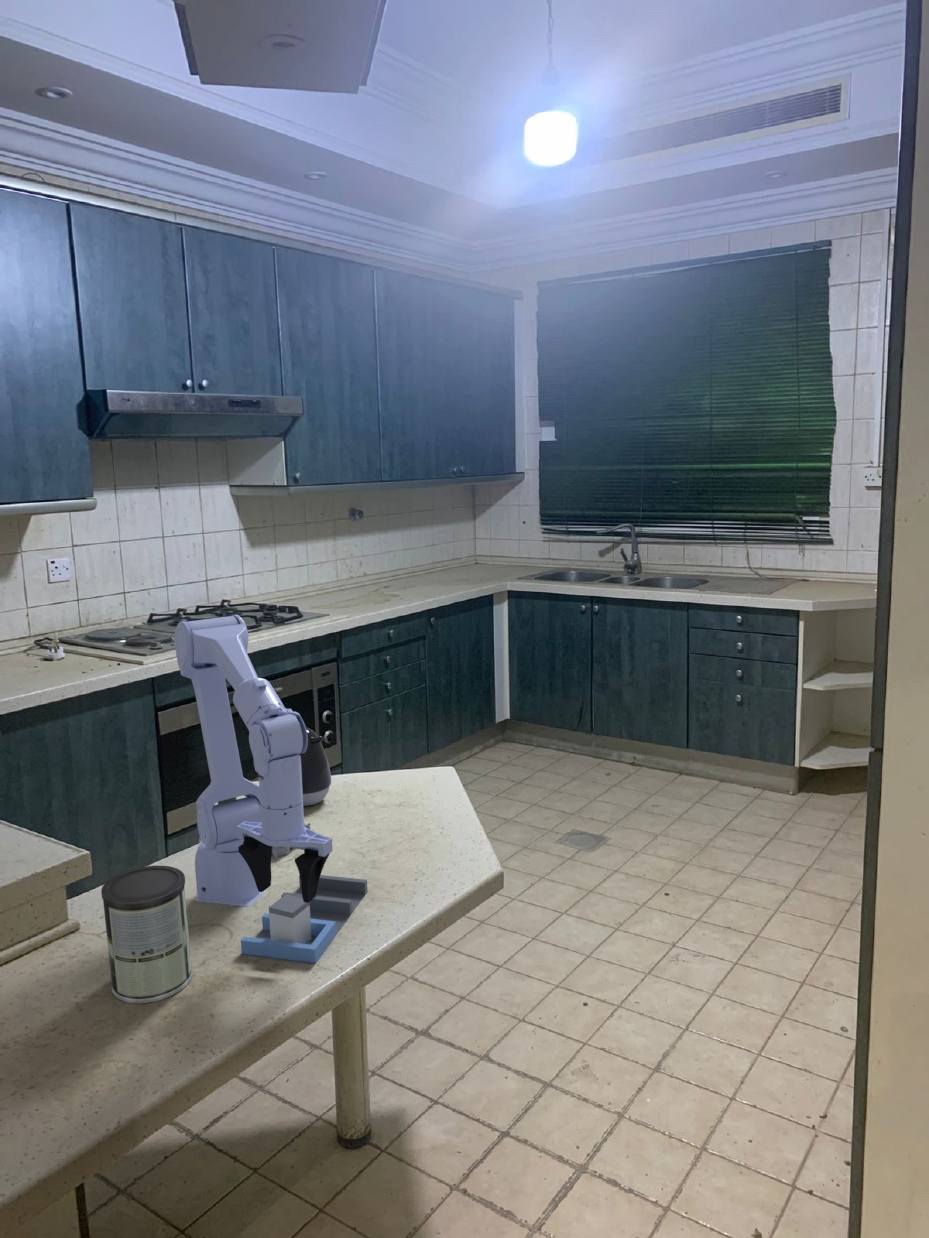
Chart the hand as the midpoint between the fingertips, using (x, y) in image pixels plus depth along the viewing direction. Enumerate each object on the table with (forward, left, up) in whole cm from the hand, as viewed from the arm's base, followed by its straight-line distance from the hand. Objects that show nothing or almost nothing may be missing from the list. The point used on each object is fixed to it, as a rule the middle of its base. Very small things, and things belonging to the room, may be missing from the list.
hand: (286, 893), depth 128 cm
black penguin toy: (-19, +50, -8) cm, 55 cm away
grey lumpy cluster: (-16, +30, -9) cm, 35 cm away
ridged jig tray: (0, +6, -8) cm, 10 cm away
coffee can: (-14, -12, -8) cm, 20 cm away
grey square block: (0, 0, -8) cm, 8 cm away
